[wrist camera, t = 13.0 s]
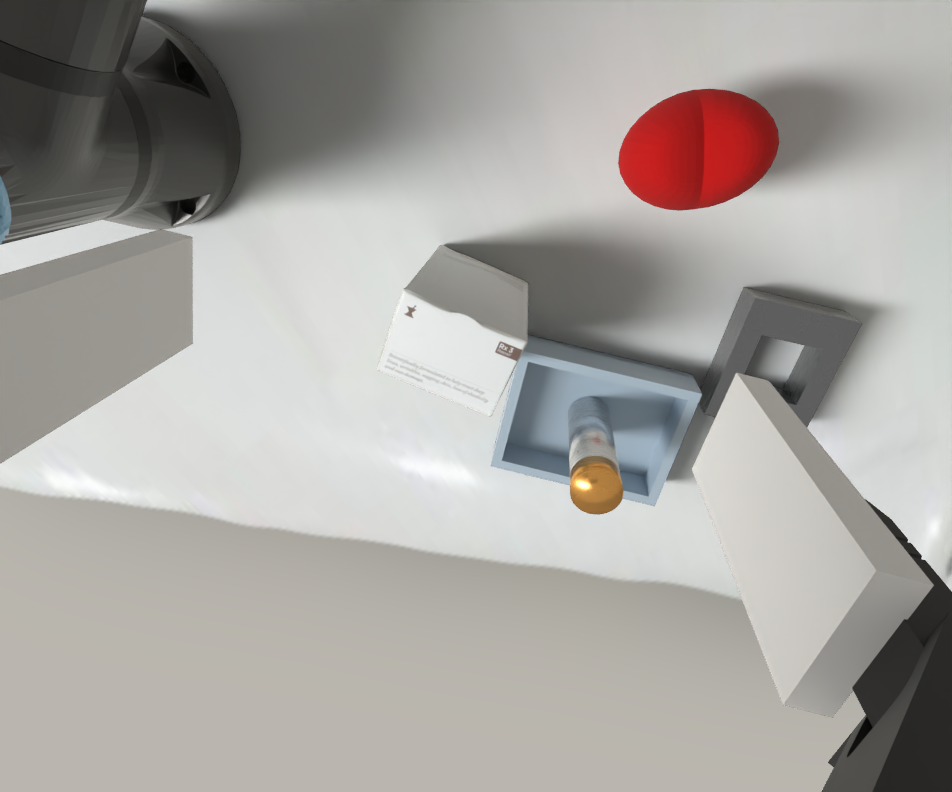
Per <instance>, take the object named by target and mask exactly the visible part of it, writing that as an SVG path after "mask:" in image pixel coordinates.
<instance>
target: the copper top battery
mask: <svg viewBox="0 0 952 792" xmlns="http://www.w3.org/2000/svg"><path fill="white" fill-rule="evenodd" d="M568 437H569V467H570V494H571V499H572V501H573V503H574V504H575V505H576V506H577V507H578V508H579V509H580V510H582V511H584V512H586V513H590V514H604V513H607V512H610V511H612V510H613V509H615V508H616V507H617V506H618V505H619V504H620V502H621V500H622V498H623V487H622V481H621V475H620V470H619V464H618V458H617V453H616V447H615V441H614V436H613V430H612V424H611V419H610V413H609V409H608V406H607V405H606V403H605V402H604V401H602V400H601V399H599V398H597V397H593V396H585V397H581V398H579V399H577V400H575V401H574V402H573V403H572V404H571V406H570V407H569V410H568Z"/></svg>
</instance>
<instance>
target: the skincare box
mask: <svg viewBox="0 0 952 792" xmlns="http://www.w3.org/2000/svg"><path fill="white" fill-rule="evenodd" d="M527 332H528V283H527V282H525V281H523V280H521V279H519V278H517V277H514V276H512V275H510V274H508V273H505V272H503V271H501V270H499V269H496V268H494V267H492V266H490V265H487V264H485V263H483V262H480V261H478V260H476V259H474V258H471V257H469V256H466V255H463V254H461V253H458V252H455V251H453V250H451V249H449V248H447V247H445V246H443V245H440V246H439V247H438V248H437V250H436V251H435V252H434V254H433V255H432V256H431V257H430V259H429V260H428V261H427V262H426V264H425V265H424V266H423V267H422V268H421V270H420V271H419V272H418V273H417V275H416V276H415V277H414V278H413V280H412V281H411V282H410V283H409V284H408V286H407V287H406V288H404V289H403V291H402V294H401V297H400V300H399V303H398V305H397V308H396V311H395V314H394V317H393V320H392V323H391V326H390V329H389V332H388V335H387V338H386V341H385V344H384V347H383V350H382V353H381V357H380V360H379V363H378V366H377V370H378V371H380V372H382V373H384V374H387V375H389V376H392V377H394V378H397V379H399V380H401V381H404V382H406V383H408V384H411V385H413V386H416V387H418V388H421V389H423V390H425V391H428V392H430V393H433V394H435V395H438V396H440V397H443V398H445V399H447V400H450V401H452V402H455V403H457V404H460V405H462V406H465V407H467V408H470V409H472V410H475V411H477V412H480V413H482V414H485V415H487V416H492V413H493V411H494V409H495V407H496V405H497V403H498V401H499V399H500V397H501V395H502V393H503V391H504V389H505V387H506V385H507V383H508V381H509V379H510V377H511V375H512V373H513V371H514V369H515V367H516V365H517V363H518V361H519V359H520V357H521V355H522V353H523V351H524V349H525V347H526V345H527Z"/></svg>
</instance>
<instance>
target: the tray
mask: <svg viewBox="0 0 952 792" xmlns="http://www.w3.org/2000/svg"><path fill="white" fill-rule="evenodd" d="M585 396H593V397H597V398H599V399H601V400H602V401H604V402H605V403H606V405H607V406H608V409H609V413H610V419H611V424H612V430H613V436H614V441H615V447H616V453H617V458H618V464H619V470H620V475H621V481H622V487H623V499H627V500H631V501H635V502H639V503H643V504H647V505H651V506H655V504H656V502H657V500H658V497H659V495H660V493H661V490H662V488H663V485H664V483H665V481H666V478H667V476H668V474H669V471H670V469H671V467H672V464H673V462H674V459H675V457H676V455H677V452H678V450H679V448H680V445H681V443H682V441H683V438H684V436H685V434H686V431H687V429H688V426H689V424H690V422H691V419H692V417H693V415H694V412H695V410H696V408H697V405H698V403H699V401H700V398H701V396H702V393H701V391H700V389H699V387H698V385H697V383H696V381H695V379H694V377H693V375H692V374H689V373H685V372H681V371H677V370H673V369H669V368H664V367H660V366H656V365H652V364H648V363H643V362H639V361H635V360H631V359H627V358H623V357H618V356H614V355H610V354H606V353H602V352H598V351H593V350H589V349H585V348H581V347H577V346H573V345H568V344H564V343H560V342H556V341H552V340H547V339H543V338H539V337H535V336H531V335H527V345H526V347H525V349H524V351H523V353H522V355H521V357H520V359H519V361H518V363H517V365H516V367H515V369H514V372H513V376H512V380H511V384H510V388H509V392H508V395H507V399H506V403H505V407H504V411H503V415H502V419H501V423H500V427H499V430H498V434H497V438H496V442H495V447H494V452H493V457H492V462H491V466H493V467H497V468H501V469H505V470H509V471H513V472H517V473H521V474H525V475H529V476H533V477H537V478H541V479H546V480H550V481H554V482H558V483H562V484H566V485H570V467H569V437H568V410H569V407H570V406H571V404H572V403H573V402H574V401H575V400H577V399H579V398H581V397H585Z"/></svg>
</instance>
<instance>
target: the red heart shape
mask: <svg viewBox="0 0 952 792" xmlns="http://www.w3.org/2000/svg"><path fill="white" fill-rule="evenodd" d="M778 145H779V137H778V129H777V127H776V124H775V122H774V119H773V118H772V117H771V115H770V114H769V113H768V111H767V110H766V109H765V108H764V107H762V106H761V105H760V104H759V103H757V102H756V101H755V100H752V99H750V98H748V97H746V96H744V95H742V94H739V93H735V92H731V91H727V90H717V89H701V90H691V91H687V92H683V93H679V94H677V95H674V96H672V97H670V98H667V99H665V100H663V101H661V102H660V103H658V104H657V105H655V106H653V107H652V108H650V109H649V110H648V111H647V112H646V113H645V114H643V115H642V116H641V117H640V118H639V119H638V120H637V121H636V123H635V124H634V125H633V126H632V127H631V128H630V130H629V132H628V133H627V135H626V137H625V138H624V140H623V143H622V146H621V149H620V152H619V162H618V163H619V169H620V174H621V176H622V178H623V180H624V182H625V184H626V185H627V187H628V188H629V189H630V190H631V191H632V193H633V194H635V195H636V196H637V197H639V198H640V199H641V200H643V201H645V202H647V203H649V204H651V205H653V206H656V207H660V208H664V209H669V210H690V209H698V208H705V207H710V206H714V205H717V204H720V203H724V202H726V201H728V200H730V199H732V198H734V197H737V196H739V195H740V194H742V193H743V192H745V191H746V190H748V189H750V188H751V187H752V186H753V185H754V184H756V183H757V182H758V181H759V180H760V179H761V178H762V177H763V176H764V174H765V173H766V172H767V171H768V169H769V168H770V167H771V165H772V163H773V161H774V159H775V156H776V154H777V150H778Z"/></svg>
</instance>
